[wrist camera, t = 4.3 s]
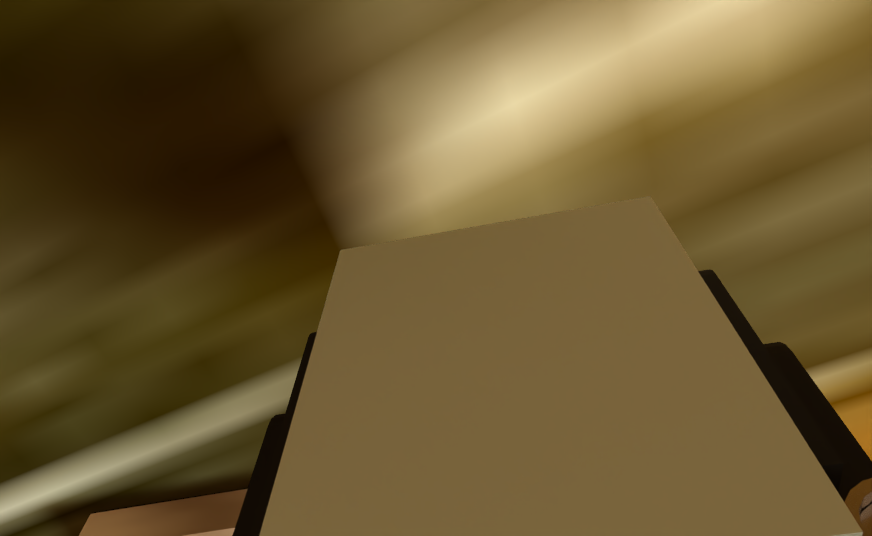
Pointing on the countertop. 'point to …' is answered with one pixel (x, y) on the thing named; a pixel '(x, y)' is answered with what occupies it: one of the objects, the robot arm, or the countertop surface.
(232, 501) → the stack base
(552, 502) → the sage block
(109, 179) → the countertop surface
